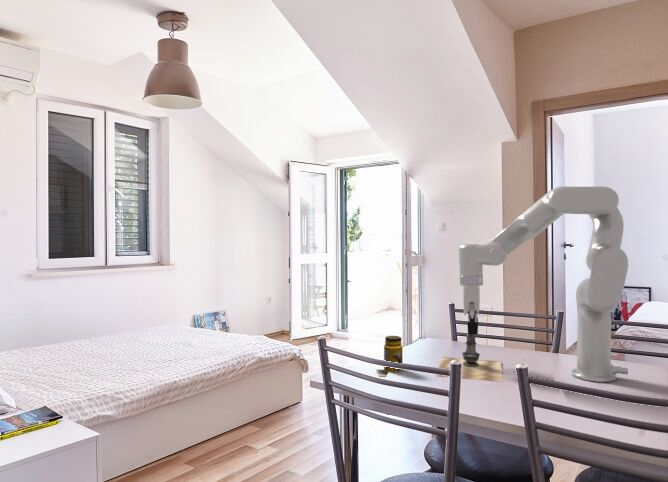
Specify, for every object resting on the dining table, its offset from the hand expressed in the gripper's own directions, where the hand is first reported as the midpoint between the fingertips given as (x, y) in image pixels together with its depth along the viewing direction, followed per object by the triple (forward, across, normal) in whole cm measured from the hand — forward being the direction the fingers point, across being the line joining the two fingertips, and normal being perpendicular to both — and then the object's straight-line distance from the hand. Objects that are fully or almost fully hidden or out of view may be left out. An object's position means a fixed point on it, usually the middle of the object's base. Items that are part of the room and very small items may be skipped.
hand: (473, 331), depth 166 cm
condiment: (+12, +13, -26) cm, 32 cm away
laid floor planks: (+13, +11, -1) cm, 17 cm away
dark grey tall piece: (+12, 0, -1) cm, 12 cm away
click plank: (+12, 0, -1) cm, 12 cm away
